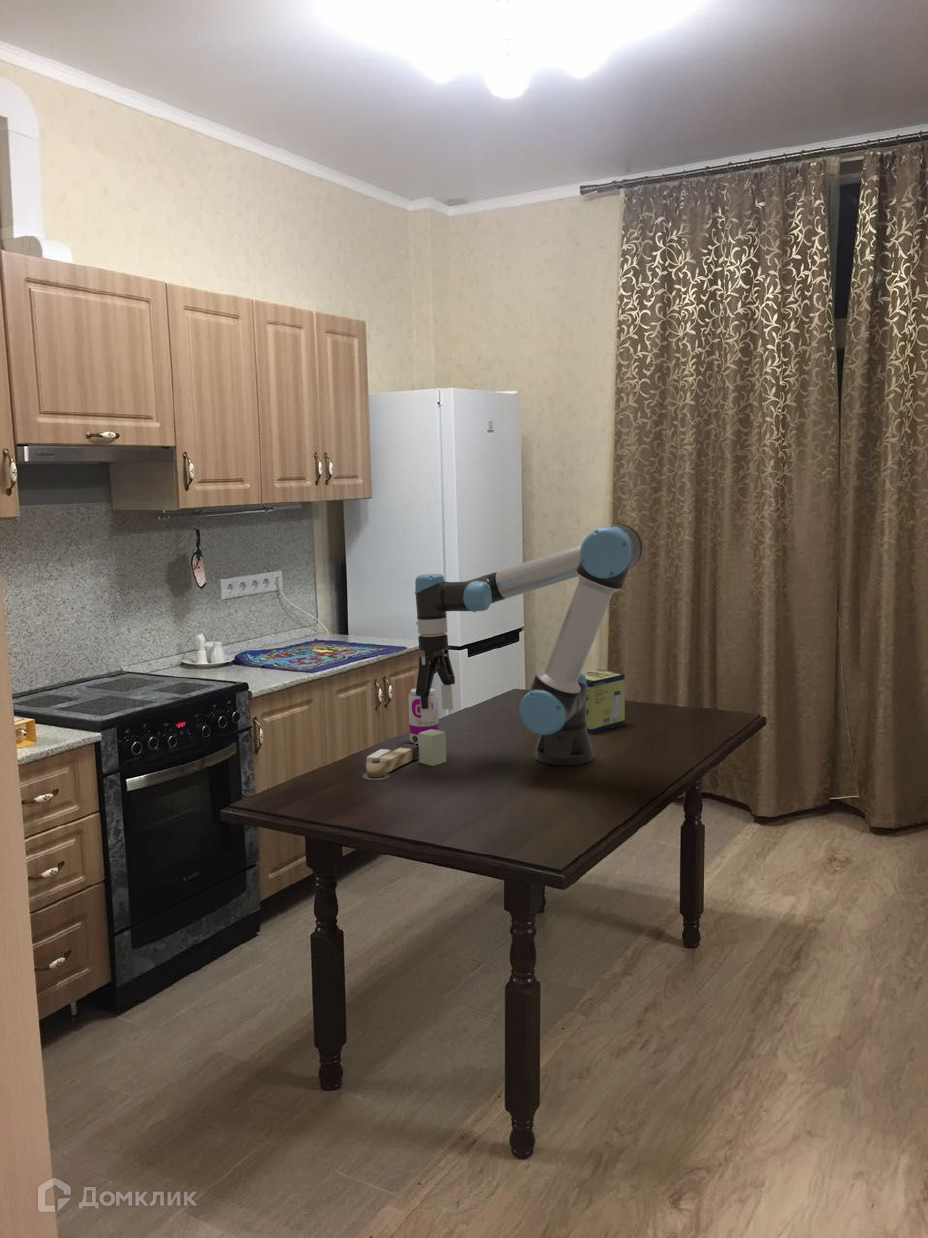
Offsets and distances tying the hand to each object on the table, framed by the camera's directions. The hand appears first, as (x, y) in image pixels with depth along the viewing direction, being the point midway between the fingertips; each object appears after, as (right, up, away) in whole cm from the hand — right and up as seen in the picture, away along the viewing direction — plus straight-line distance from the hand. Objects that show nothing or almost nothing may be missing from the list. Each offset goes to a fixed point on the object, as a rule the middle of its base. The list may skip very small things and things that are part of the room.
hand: (437, 715), depth 271 cm
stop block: (-15, -13, 0) cm, 20 cm away
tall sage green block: (-1, -13, +2) cm, 13 cm away
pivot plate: (-15, -14, -10) cm, 23 cm away
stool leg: (-11, -13, -3) cm, 18 cm away
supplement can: (-4, -10, +22) cm, 24 cm away
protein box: (+45, -7, +35) cm, 58 cm away
